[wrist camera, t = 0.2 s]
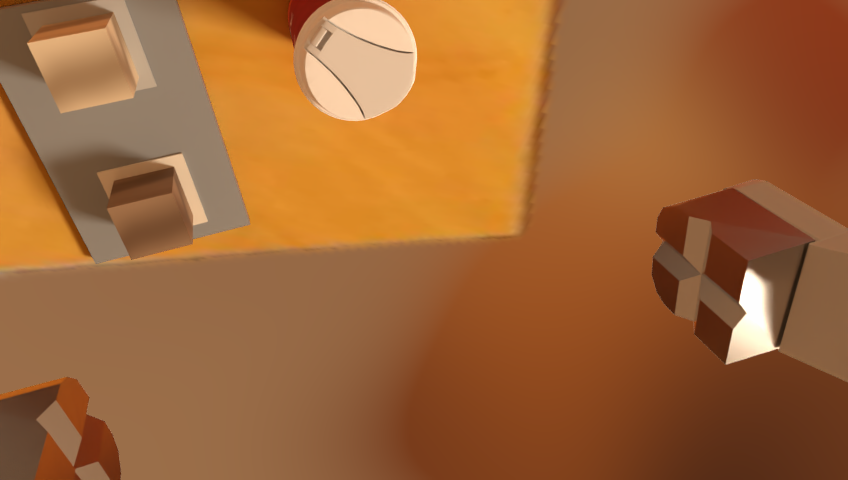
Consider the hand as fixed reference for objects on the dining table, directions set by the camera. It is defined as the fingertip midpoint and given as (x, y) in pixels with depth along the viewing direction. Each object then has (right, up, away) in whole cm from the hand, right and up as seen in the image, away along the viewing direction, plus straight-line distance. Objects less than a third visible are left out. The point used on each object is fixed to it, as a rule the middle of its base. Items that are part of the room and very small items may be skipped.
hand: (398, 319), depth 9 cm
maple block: (-25, +15, +38) cm, 48 cm away
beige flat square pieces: (-24, +10, +43) cm, 51 cm away
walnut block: (-23, +5, +46) cm, 52 cm away
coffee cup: (-8, +20, +43) cm, 48 cm away
